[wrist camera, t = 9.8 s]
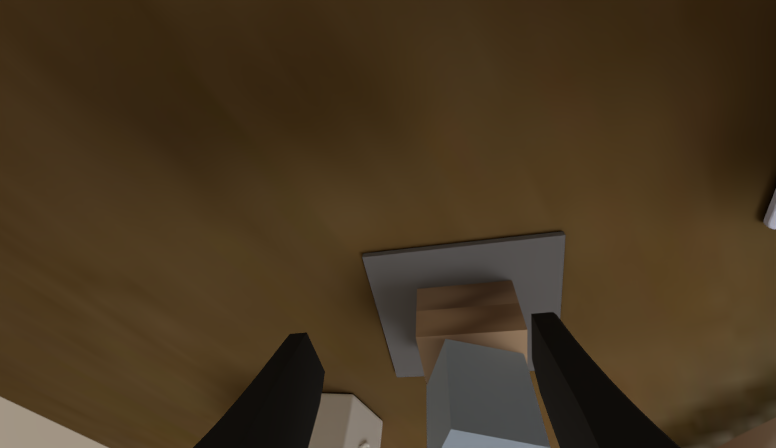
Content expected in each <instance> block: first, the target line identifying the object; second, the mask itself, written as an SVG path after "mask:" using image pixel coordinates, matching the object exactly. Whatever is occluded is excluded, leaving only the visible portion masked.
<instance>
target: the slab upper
mask: <svg viewBox="0 0 776 448" xmlns="http://www.w3.org/2000/svg"><path fill="white" fill-rule="evenodd" d="M445 339H449V340H455V341H460V342H465V343H470V344H475V345H481V346H486V347H491V348H496V349H501V350H507V351H512V352H517V353H522V354H524V356H525V359H526V363H527V327H526V324H525V321H524V317H523V314H522V311H521V308H520V305H519V303H513V304H501V305H488V306H476V307H463V308H451V309H439V310H426V311H416V341H417V345H418V349H419V354H420V358H421V363H422V367H423V371H424V376H425V380H426V384H428V382H429V379H430V376H431V374H432V371H433V369H434V366H435V364H436V361H437V359H438V356H439V354H440V351H441V349H442V346H443V344H444V341H445Z"/></svg>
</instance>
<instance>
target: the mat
mask: <svg viewBox="0 0 776 448" xmlns="http://www.w3.org/2000/svg"><path fill="white" fill-rule="evenodd" d="M564 249H565V234H564V232H563V231H562V232H553V233H544V234H535V235H526V236H517V237H508V238H499V239H490V240H481V241H472V242H463V243H454V244H445V245H436V246H427V247H418V248H409V249H400V250H391V251H382V252H373V253H364V254H363V256H362V258H363V262H364V265H365V269H366V272H367V276H368V279H369V282H370V286H371V289H372V293H373V296H374V300H375V303H376V307H377V310H378V313H379V317H380V320H381V324H382V327H383V331H384V334H385V338H386V341H387V344H388V348H389V351H390V355H391V358H392V362H393V365H394V368H395V372H396V375H397V377H414V376H424V371H423V367H422V363H421V358H420V354H419V349H418V345H417V341H416V307H417V289H422V288H433V287H444V286H455V285H466V284H477V283H488V282H499V281H510V280H512V282H513V285H514V288H515V292H516V295H517V298H518V301H519V305H520V308H521V311H522V314H523V317H524V321H525V324H526V327H527V366H528V370H529V371H535V370H534V366H533V362H532V333H531V314H534V313H546V312H554V313H555V314H557V316H558V317H559V319H560V312H561V296H562V281H563V265H564Z"/></svg>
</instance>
